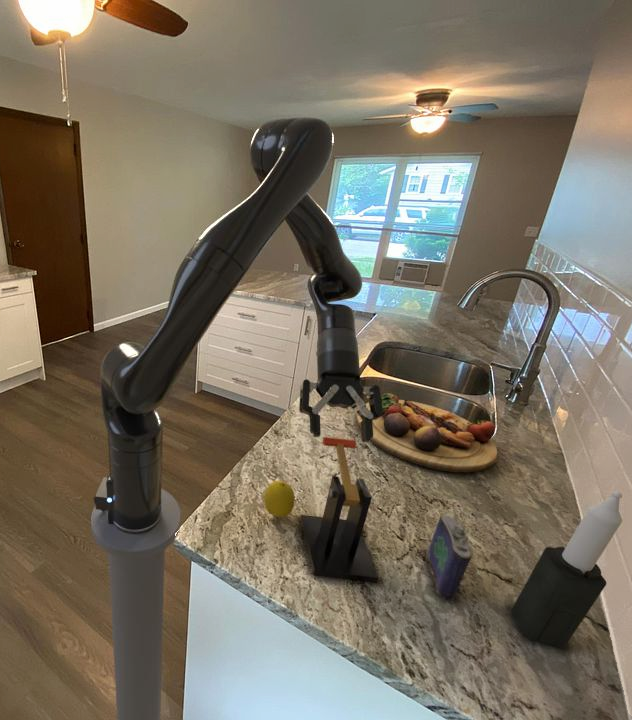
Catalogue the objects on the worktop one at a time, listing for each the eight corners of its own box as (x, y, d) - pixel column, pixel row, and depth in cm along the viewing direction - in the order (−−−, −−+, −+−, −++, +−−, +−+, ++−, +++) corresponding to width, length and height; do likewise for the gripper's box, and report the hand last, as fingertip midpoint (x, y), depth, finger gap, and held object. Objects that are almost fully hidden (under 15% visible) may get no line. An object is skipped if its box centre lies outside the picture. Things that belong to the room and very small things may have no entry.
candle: (524, 638, 55) (605, 501, 45) (508, 605, 59) (579, 474, 50) (568, 651, 53) (662, 512, 44) (548, 616, 58) (630, 483, 48)
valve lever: (321, 441, 72) (324, 433, 70) (351, 443, 71) (355, 436, 70) (331, 504, 64) (335, 498, 62) (365, 508, 63) (370, 502, 61)
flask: (423, 550, 68) (441, 503, 64) (442, 555, 67) (462, 508, 63) (438, 598, 60) (460, 547, 56) (459, 604, 59) (484, 553, 55)
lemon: (294, 526, 72) (301, 493, 69) (265, 526, 72) (270, 492, 69) (286, 505, 77) (292, 472, 74) (259, 504, 77) (264, 472, 74)
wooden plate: (490, 428, 107) (500, 402, 104) (502, 494, 82) (516, 463, 79) (365, 395, 123) (371, 372, 120) (344, 443, 98) (350, 414, 95)
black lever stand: (300, 519, 74) (312, 460, 69) (354, 525, 73) (370, 466, 68) (313, 575, 63) (328, 510, 58) (376, 583, 62) (398, 517, 57)
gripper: (304, 345, 73) (305, 430, 67) (383, 351, 71) (392, 438, 65) (295, 360, 80) (296, 439, 73) (367, 366, 78) (374, 446, 72)
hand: (341, 438), depth 69 cm, fingers open, 8 cm apart
